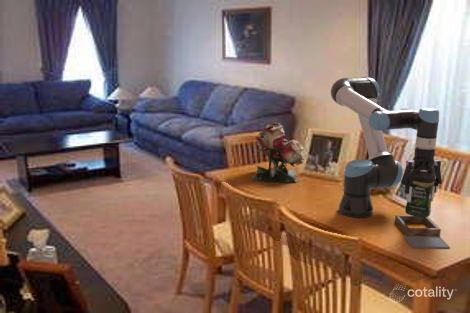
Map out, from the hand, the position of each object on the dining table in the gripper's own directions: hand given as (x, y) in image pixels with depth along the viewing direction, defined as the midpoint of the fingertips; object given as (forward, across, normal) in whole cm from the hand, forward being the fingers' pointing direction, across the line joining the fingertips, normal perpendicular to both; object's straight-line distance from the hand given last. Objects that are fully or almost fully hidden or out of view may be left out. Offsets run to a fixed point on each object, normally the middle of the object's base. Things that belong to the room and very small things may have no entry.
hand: (419, 200), depth 206 cm
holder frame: (+12, 0, 0) cm, 12 cm away
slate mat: (+12, -3, -14) cm, 19 cm away
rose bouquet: (+13, -41, +81) cm, 91 cm away
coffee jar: (+6, 0, 0) cm, 6 cm away
